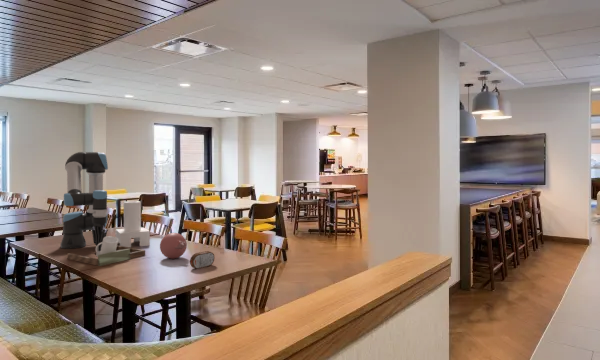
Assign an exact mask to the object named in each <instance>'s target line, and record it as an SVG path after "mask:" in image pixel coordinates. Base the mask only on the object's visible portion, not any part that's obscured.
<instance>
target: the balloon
mask: <svg viewBox="0 0 600 360" xmlns="http://www.w3.org/2000/svg"><path fill="white" fill-rule="evenodd" d="M159 249H160V252H161V254H162V255H163V256H164V257H165V258H168V259H172V260H174V259H177V258H178V259H179V258H180V257H182V256H183V255H184V254H185V252H186V250H187V249H188V247H187V240H186V238H185V237H184V235H182V234H181V233H178V232H170V233H168V234H165V236H164V237H162V238H161V241H160V244H159Z"/></svg>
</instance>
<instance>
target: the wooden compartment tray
mask: <svg viewBox="0 0 600 360" xmlns="http://www.w3.org/2000/svg"><path fill="white" fill-rule="evenodd" d="M95 249H96V247H95ZM95 249H94V250H95ZM66 254H67V256H66V258H67V260H71V261H76V262H81V263H85V264H90V265H94V266H99V267H102V266H107V265H110V264H115V263H118V262H119V263H120V262H123V261H127V260H130V259H134V258H139V257H143V256H146V250H145V249H139V248H134V247H124V246H120V245H117V248H116V251H115V252H110V253H105V254H100V255H98V257H97V258H94V257H89V256H85V255H80V254H76V253H70V252H69V253H66ZM95 254H96V250H95Z"/></svg>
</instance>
